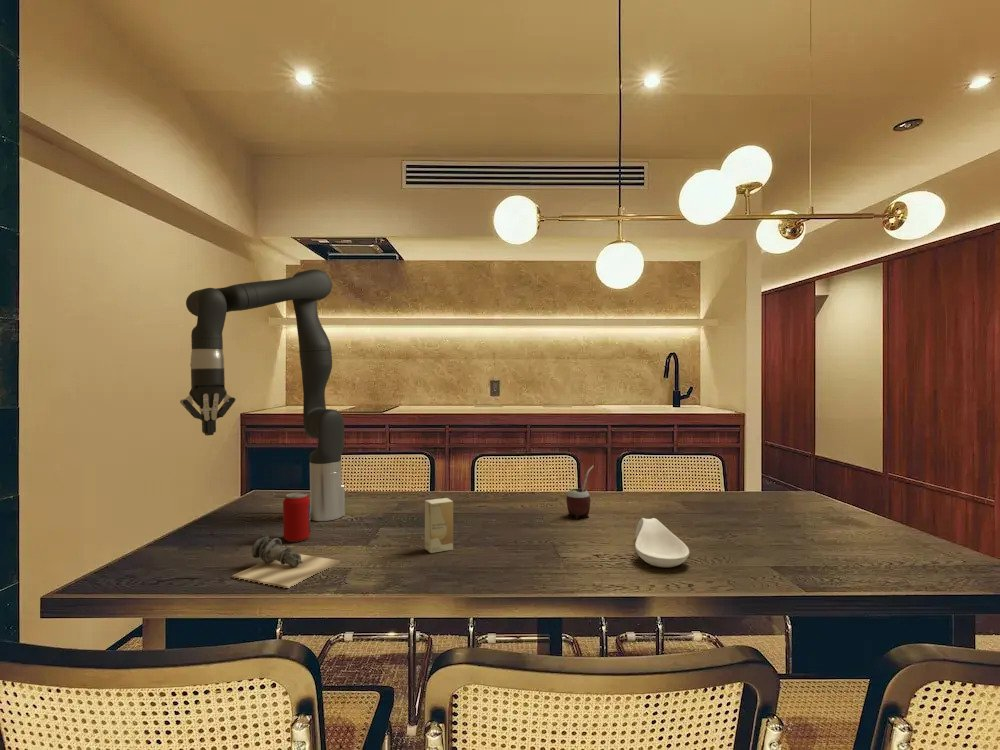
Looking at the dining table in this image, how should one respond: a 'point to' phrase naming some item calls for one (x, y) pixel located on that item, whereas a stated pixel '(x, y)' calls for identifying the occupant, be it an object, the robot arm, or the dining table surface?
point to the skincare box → (438, 525)
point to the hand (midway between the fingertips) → (209, 434)
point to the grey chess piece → (274, 551)
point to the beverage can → (296, 517)
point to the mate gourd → (579, 501)
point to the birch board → (286, 571)
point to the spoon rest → (659, 544)
